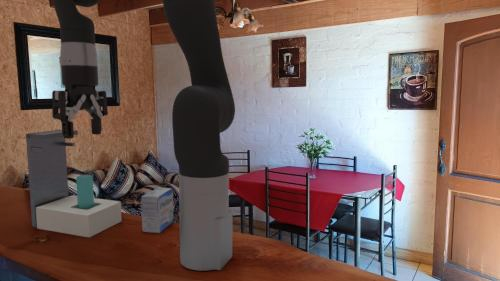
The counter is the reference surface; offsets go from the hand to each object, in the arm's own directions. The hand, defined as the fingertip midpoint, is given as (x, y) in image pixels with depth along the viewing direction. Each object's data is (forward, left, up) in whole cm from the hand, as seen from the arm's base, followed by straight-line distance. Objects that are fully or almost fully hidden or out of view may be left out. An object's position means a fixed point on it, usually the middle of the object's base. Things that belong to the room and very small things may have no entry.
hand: (83, 136), depth 86 cm
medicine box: (-16, -5, -22) cm, 28 cm away
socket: (+2, 0, -21) cm, 22 cm away
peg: (0, 0, -22) cm, 22 cm away
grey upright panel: (+9, 0, -22) cm, 23 cm away
